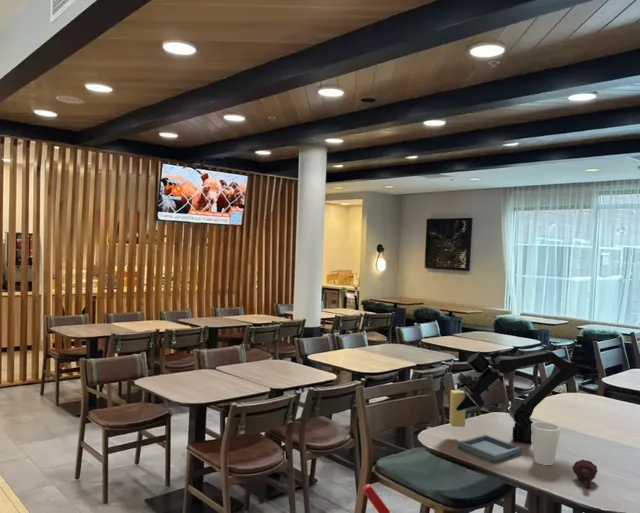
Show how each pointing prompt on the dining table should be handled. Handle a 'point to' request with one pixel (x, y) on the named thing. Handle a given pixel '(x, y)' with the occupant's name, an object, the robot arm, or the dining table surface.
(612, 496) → the dining table surface
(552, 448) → the foam cup
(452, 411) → the block
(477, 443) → the tray
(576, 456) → the dining table surface
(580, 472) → the icecream
